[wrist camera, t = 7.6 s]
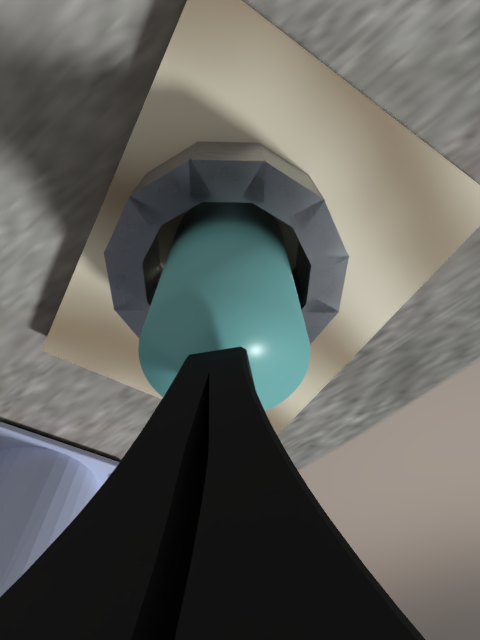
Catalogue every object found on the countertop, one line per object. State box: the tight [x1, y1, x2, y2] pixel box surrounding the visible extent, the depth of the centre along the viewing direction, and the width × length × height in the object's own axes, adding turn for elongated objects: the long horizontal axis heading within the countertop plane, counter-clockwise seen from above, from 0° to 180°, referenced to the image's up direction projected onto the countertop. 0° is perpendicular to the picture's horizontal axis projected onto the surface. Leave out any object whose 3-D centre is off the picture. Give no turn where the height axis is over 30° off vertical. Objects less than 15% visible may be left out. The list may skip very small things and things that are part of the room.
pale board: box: [41, 0, 480, 435], centre depth 17 cm, size 16×13×1 cm
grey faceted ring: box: [104, 141, 349, 344], centre depth 15 cm, size 8×8×3 cm
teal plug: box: [138, 202, 311, 411], centre depth 13 cm, size 4×4×7 cm
